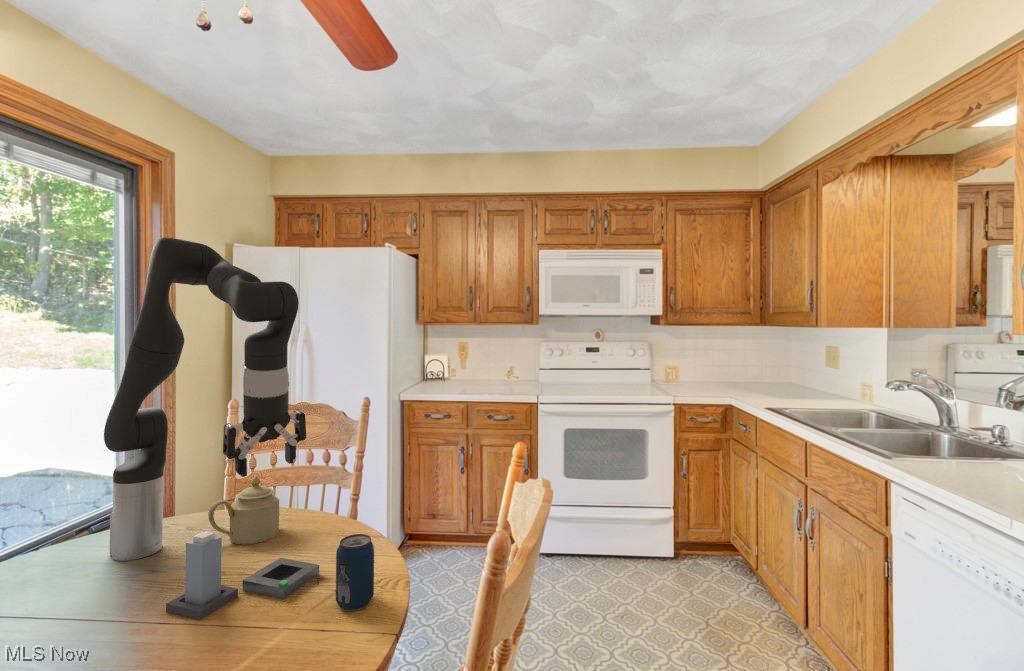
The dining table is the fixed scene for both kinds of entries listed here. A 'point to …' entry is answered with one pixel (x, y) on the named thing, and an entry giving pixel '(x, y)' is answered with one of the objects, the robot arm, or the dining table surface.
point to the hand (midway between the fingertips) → (266, 468)
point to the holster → (200, 612)
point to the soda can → (354, 572)
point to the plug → (203, 568)
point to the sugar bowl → (250, 515)
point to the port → (280, 578)
